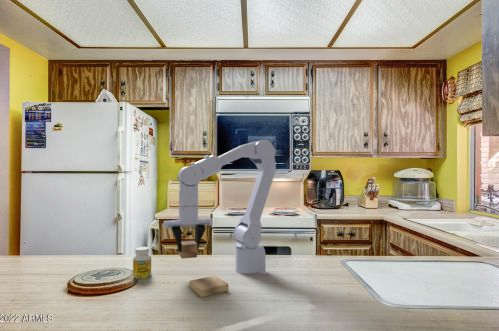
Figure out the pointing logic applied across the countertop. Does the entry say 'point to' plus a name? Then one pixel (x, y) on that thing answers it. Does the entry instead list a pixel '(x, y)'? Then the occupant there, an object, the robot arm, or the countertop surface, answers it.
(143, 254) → the supplement bottle
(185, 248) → the block
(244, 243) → the robot arm
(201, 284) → the tile top
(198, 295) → the tile bottom
